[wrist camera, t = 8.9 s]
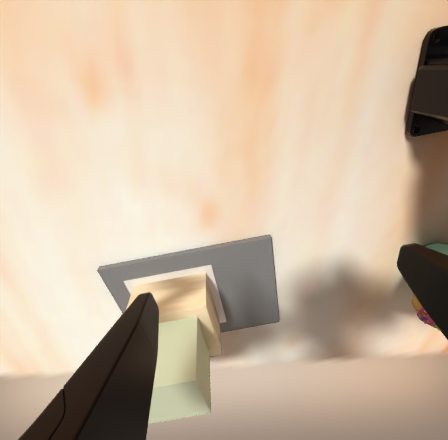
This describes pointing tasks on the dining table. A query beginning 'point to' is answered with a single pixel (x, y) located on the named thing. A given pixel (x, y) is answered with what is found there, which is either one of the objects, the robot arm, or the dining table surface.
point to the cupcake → (420, 310)
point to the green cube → (181, 372)
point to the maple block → (186, 304)
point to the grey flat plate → (211, 279)
